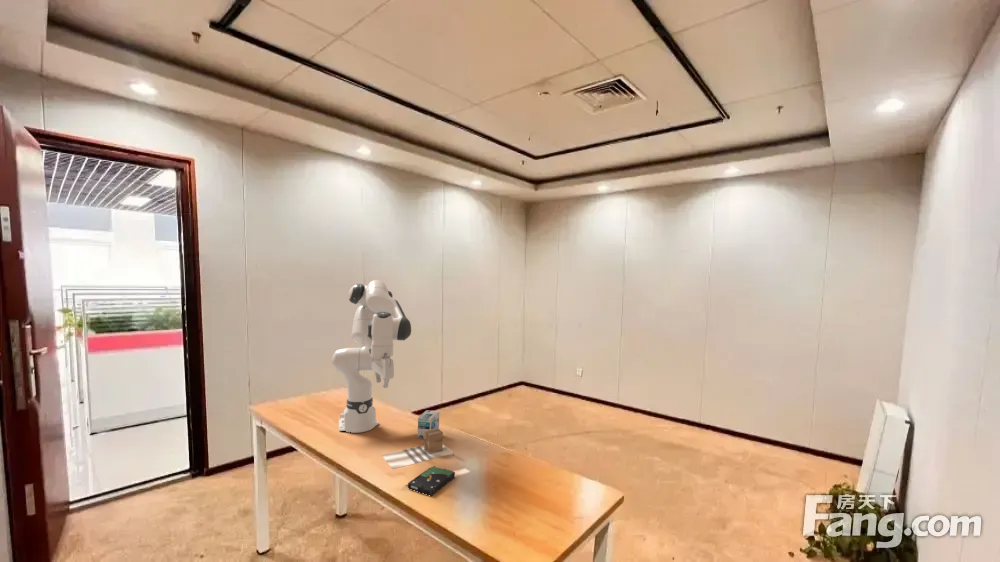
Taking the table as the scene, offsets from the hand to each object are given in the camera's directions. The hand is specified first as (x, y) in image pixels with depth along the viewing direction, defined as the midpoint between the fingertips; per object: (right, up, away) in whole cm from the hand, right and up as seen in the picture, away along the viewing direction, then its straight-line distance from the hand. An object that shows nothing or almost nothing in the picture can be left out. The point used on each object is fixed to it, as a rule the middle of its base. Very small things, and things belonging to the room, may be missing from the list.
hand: (381, 384), depth 167 cm
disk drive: (+25, -31, -22) cm, 45 cm away
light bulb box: (+16, -29, +19) cm, 38 cm away
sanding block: (+21, -28, +2) cm, 35 cm away
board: (+16, -29, -2) cm, 33 cm away
